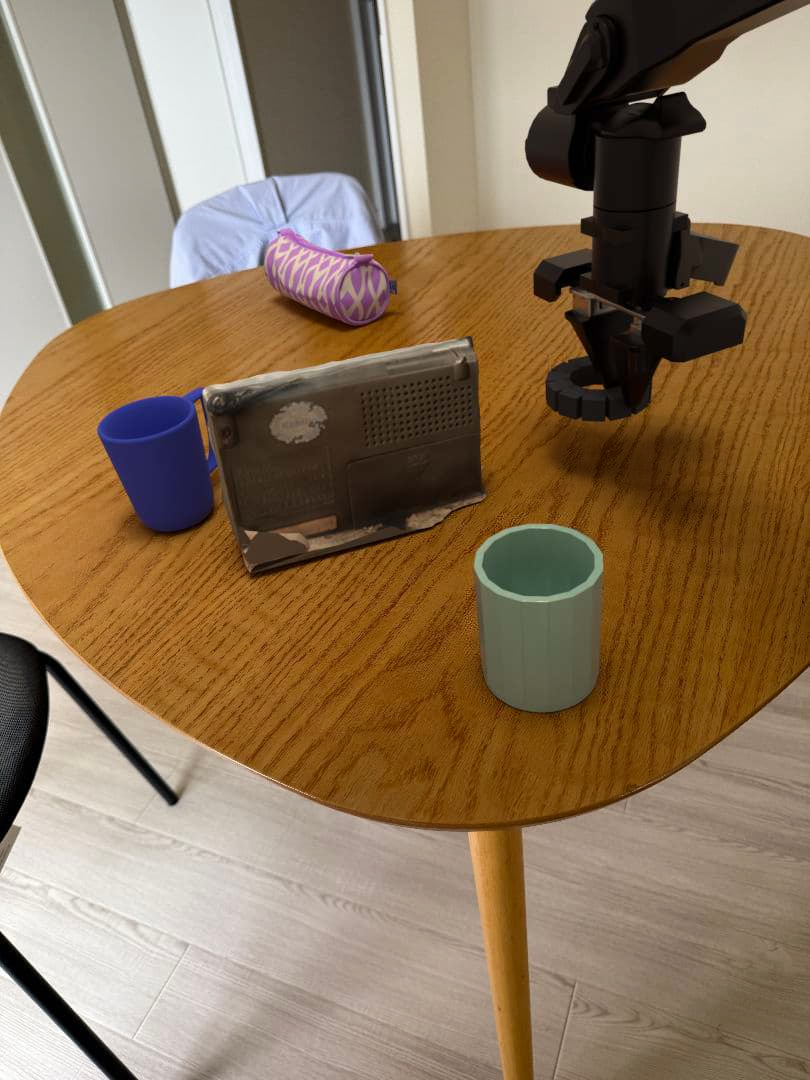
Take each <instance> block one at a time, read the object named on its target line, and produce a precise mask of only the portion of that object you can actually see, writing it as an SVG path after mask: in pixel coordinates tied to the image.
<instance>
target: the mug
mask: <svg viewBox="0 0 810 1080" xmlns="http://www.w3.org/2000/svg"><path fill="white" fill-rule="evenodd" d="M206 387H207V386H206ZM206 387H205V386H199V387H197V388H195V389H193V390H191V391H189V392H188V393H186V394H185V395H183V396H177V395H159V396H152V397H145V398H142V399H138V400H135V401H131V402H129V403H126V404H124V405H122V406H120V407H118V408H116V409H114V410H112V411H111V412H109V413H108V414H107V415H106V416H104V417H103V418H102V419H101V421H100V422H99V423H98V426H97V428H96V430H97V431H96V432H97V436H98V438H99V440H100V442H101V444H102V446H103V448H104V450H105V452H106V454H107V456H108V458H109V460H110V462H111V465H112V467H113V468H114V471H115V473H116V475H117V477H118V480H119V481H120V483H121V485H122V487H123V489H124V491H125V493H126V495H127V497H128V500H129V501H130V504H131V505H132V507H133V509H134V511H135V514H136V515H137V517H138V518H139V520H140V521H141V522H142V524H143V525H145V526H146V527H147V528H149V529H151V530H153V531H157V532H162V533H163V532H177V531H181V530H184V529H188V528H190V527H193V526H194V525H196V524H199V523H200V522H202V521H203V520H204V519H205V518H206V517H207V516H208V515H209V514H210V513H211V511H212V509H213V507H214V502H215V492H214V487H213V482H212V479H211V473H213V472H214V471H215V470H216V469H218V465H217V461H216V457H215V454H214V452H213V450H212V448H211V445H210V442H209V437H208V436H207V439H208V454H207V453H206V449H205V445H204V440H203V434H202V429H201V426H200V421H199V416H198V412H197V411H198V410H197V408H196V404H195V403H197V402H198V401H199V400H200V404H201V409H202V413H203V417H204V422H205V427H206V432H207V434H208V428H207V423H208V418H207V414H206V410H205V406H204V401H203V395H202V393H203V390H204V389H205V388H206ZM207 455H208V456H207Z"/></svg>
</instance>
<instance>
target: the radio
mask: <svg viewBox="0 0 810 1080" xmlns="http://www.w3.org/2000/svg"><path fill="white" fill-rule="evenodd" d="M479 368H480V367H479V361H478V356H477V353H476V351H475V348H474V341H473V336H472V335H466V336H464V337H461V338H453V339H448V340H445V341H442V342H430V343H429V342H428V343H422V344H417V345H413V346H407V347H402V348H396V349H392V350H388V351H382V352H381V351H380V352H376V353H369V354H365V355H359V356H356V357H352V358H346V359H344V360H338V361H336V360H332V361H329V362H326V363H323V364H319V365H315V366H314V365H313V366H309V367H302V368H296V369H293V370H278V371H272V372H271V371H270V372H267V373H265V372H264V373H260V374H257V375H253V376H249V377H245V378H242V379H238V380H234V381H231V382H224V383H214V384H210V385H208V386H206V388H205V389H204V390H203V393H202V395H203V401H204V406H205V410H206V414H207V418H208V423H207V427H206V429H207V428H208V433H207V438H208V437H209V440H208V443H209V442H210V445H211V448H212V450H213V452H214V454H215V457H216V461H217V465H218V466H217V472H218V477H219V481H220V493H221V500H222V503H223V505H224V508H225V511H226V514H227V515H226V516H227V518H228V521H229V525H230V527H231V531H232V533H233V535H234V538H235V540H236V543H237V544H238V546H239V548H240V550H241V554H242V558H243V562H244V566H245V567H246V569H247V570H248V572H249V574H254V573H258V572H262V571H265V570H269V569H272V568H273V569H274V568H276V567H277V568H278V567H281V566H286V565H288V564H292V563H296V562H299V561H304V560H308V559H311V558H315V557H319V556H323V555H327V554H330V553H331V554H332V553H336V552H339V551H342V550H346V549H351V548H354V547H358V546H362V545H365V544H369V543H373V542H378V541H380V540H381V541H382V540H384V539H389V538H393V537H397V536H401V535H405V534H408V533H412V532H415V531H420V530H423V529H426V528H430V527H433V526H434V525H435V524H438V523H440V522H443V521H444V519H445V518H446V516H448V515H449V514H450V513H451V512H452V511H455V510H457V509H459V508H462V507H465V506H468V505H472V504H475V503H479V502H482V501H483V500H486V497H487V494H488V491H487V489H486V487H485V486H484V483H483V476H482V471H483V467H484V465H482V456H481V443H482V435H481V431H482V430H481V429H482V428H481V424H482V423H481V407H480V394H479V391H480V390H479V389H480V386H479V384H480V383H479V381H480V380H479V379H480V378H479V375H480V374H479V373H480V369H479Z"/></svg>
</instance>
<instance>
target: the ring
mask: <svg viewBox="0 0 810 1080" xmlns="http://www.w3.org/2000/svg"><path fill="white" fill-rule="evenodd" d="M653 379H654V376H653V377H652V380H651V382H650V384H649V386H648V388H647V390H646V392H645V394H644V396H643V399H642V401H641V403H640V404H639V405H638V406H636V407H633V408H628V407H626V405H625V401H624V398H623V395H622V391H621V387H620V386H618V387H613V388H609V389H604V388H603V389H601V388H600V389H599V388H586V387H589V386H603V385H602V383H601V381H600V379H599V377H598V375H597V373H596V371H595V369H594V367H593V364H592V362H591V360H590V359H589V357H588V355H583V356H579V357H573V358H570V359H567V361H561V363H558V364H557V365H555V366H554V367H551V369H550V370H549V371H548V372H547V375H546V378H545V381H544V382H545V401H546V405H547V406H548V407H549V408H550V409H551V410H552V411H553V412H554V413H557V414H558V415H559V416H562V417H565V418H568V419H572V420H575V421H577V420H579V419H580V418H581V421H582V422H596V423H598V422H600V423H601V422H603V423H605V422H606V419H608V420H609V421H610V422H612V421H613V422H614V421H617V420H622V419H626V418H631V417H632V415H634V416H637V415H638V414H639V413H641V412H642V411H644V410H645V409H647V408H648V407H649V406H650V404H651V403H652V393H653V392H652V391H653Z"/></svg>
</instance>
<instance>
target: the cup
mask: <svg viewBox="0 0 810 1080" xmlns="http://www.w3.org/2000/svg"><path fill="white" fill-rule="evenodd" d="M473 578H474V591H475V603H476V613H477V614H476V615H477V627H478V628H477V629H478V641H479V651H480V652H479V653H480V663H481V664H480V665H481V669H482V673H483V679H484V682H485V684H486V686H487V687H488V689H489V690H490V692H491V693H492V694H493V695H494V696H495V697H496V698H497V699H498V700H500V701H501V702H503V703H505V704H507V705H508V706H511V707H512V708H515V709H518V710H521V711H525V712H531V713H554V712H559V711H563V710H567V709H569V708H571V707H574V706H575V705H577V704H579V703H581V702H582V701H584V700H585V699H586V698H587V697H588V696H589V695H590V694H591V693H592V692H593V690H594V689H595V687H596V685H597V682H598V680H599V673H600V659H601V638H602V637H601V636H602V635H601V634H602V612H603V592H604V591H603V588H604V554H603V552H602V551H601V549H600V548H599V547H598V545H597V544H596V543H595V541H594V540H593V538H590V537H589V536H587V535H585V534H584V533H582V532H580V531H579V530H576V529H575V528H570V527H566V526H562V525H559V524H555V523H526V524H521V525H516V526H512V527H507V528H505V529H503V530H501V531H499V532H497V533H495V534H493V535H491V536H489V537H487V539H486V540H485V541H484V542H483V543H482V544H481V545H480V546H479V547H478V549H477V550H476V552H475V555H474V561H473Z"/></svg>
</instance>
